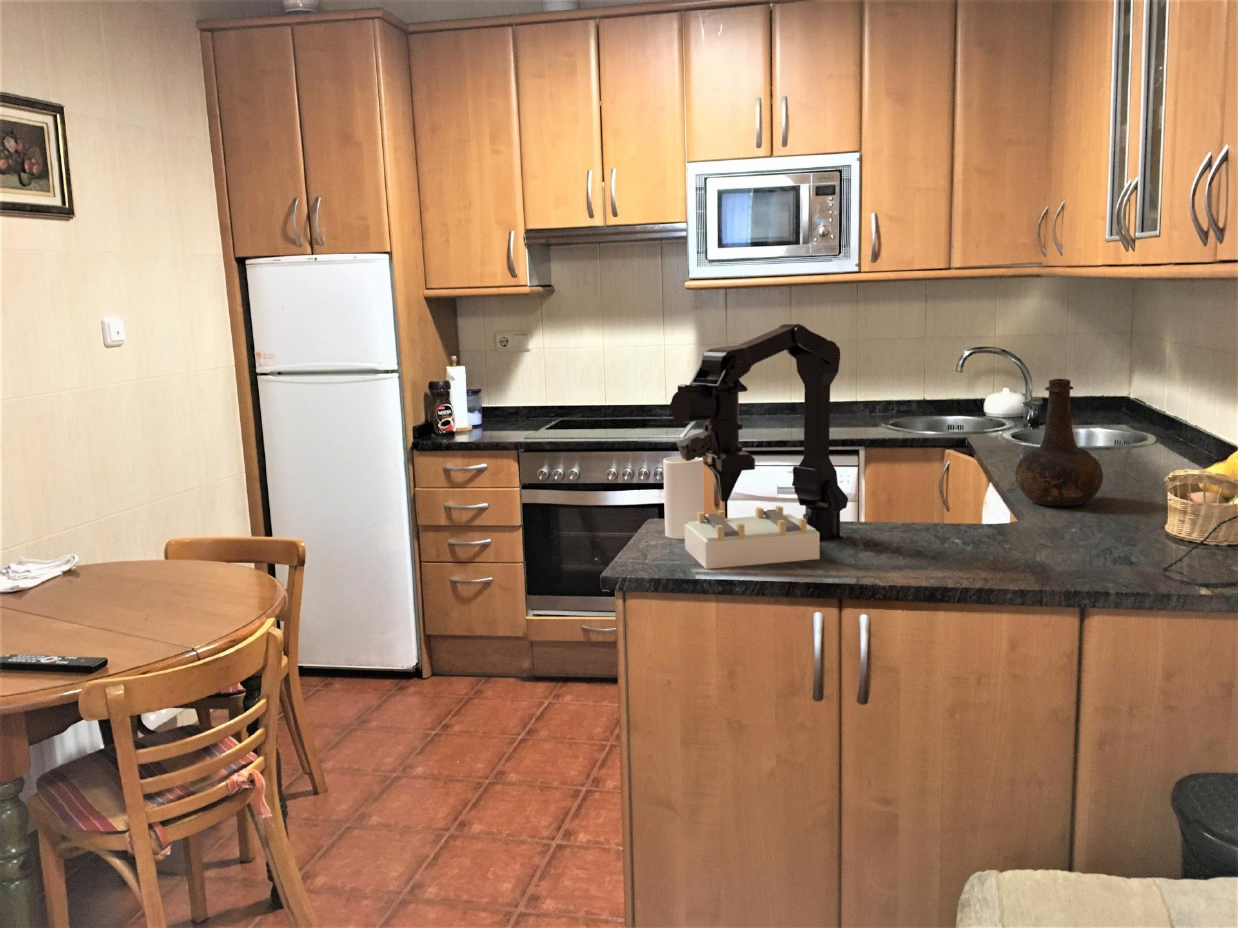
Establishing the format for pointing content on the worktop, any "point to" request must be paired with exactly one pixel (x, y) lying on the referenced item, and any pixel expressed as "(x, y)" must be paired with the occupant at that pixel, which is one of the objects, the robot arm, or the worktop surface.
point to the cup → (682, 493)
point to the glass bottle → (1059, 459)
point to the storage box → (750, 541)
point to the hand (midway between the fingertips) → (724, 501)
